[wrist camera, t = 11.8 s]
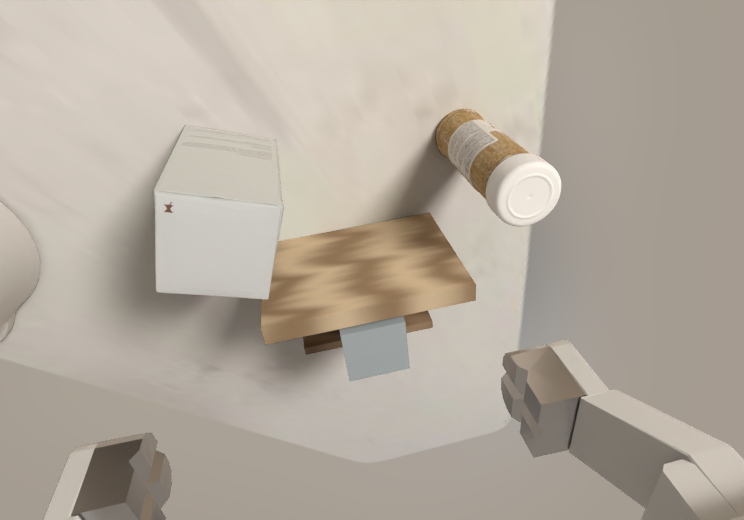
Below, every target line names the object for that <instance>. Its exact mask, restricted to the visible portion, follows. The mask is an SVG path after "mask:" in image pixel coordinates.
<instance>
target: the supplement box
mask: <svg viewBox="0 0 744 520" xmlns="http://www.w3.org/2000/svg"><path fill="white" fill-rule="evenodd" d="M153 202H154V232H155V263H156V292H157V293H173V294H190V295H205V296H220V297H235V298H250V299H264V300H268V299H269V292H270V286H271V280H272V274H273V268H274V262H275V256H276V251H277V245H278V240H279V234H280V228H281V222H282V216H283V210H284V205H283V200H282V193H281V182H280V169H279V157H278V150H277V142H276V139H271V138H265V137H260V136H254V135H247V134H241V133H235V132H228V131H222V130H216V129H209V128H203V127H196V126H190V125H185V126H184V128H183V130H182V132H181V134H180V136H179V138H178V140H177V143H176V145H175V147H174V149H173V151H172V153H171V155H170V157H169V159H168V161H167V163H166V165H165V167H164V169H163V171H162V173H161V175H160V177H159V179H158V181H157V183H156V185H155V187H154V189H153Z"/></svg>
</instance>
